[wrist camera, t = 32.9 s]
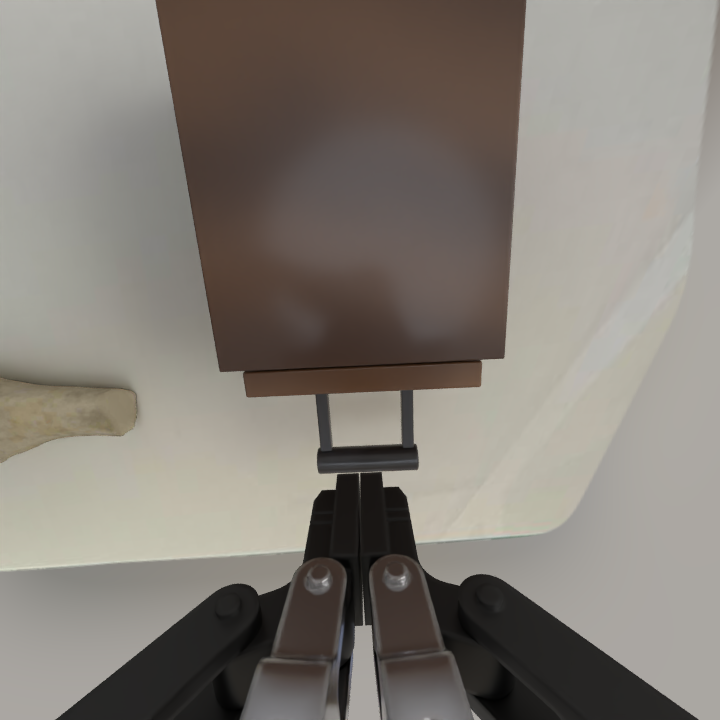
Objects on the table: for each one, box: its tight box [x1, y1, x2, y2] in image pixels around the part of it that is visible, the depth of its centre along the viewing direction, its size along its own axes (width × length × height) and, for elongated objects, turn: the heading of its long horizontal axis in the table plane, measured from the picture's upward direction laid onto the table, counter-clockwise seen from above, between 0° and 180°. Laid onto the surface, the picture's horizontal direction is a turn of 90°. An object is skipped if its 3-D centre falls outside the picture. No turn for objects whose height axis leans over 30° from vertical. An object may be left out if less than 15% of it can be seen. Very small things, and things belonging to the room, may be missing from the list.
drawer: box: [243, 360, 482, 474], centre depth 19 cm, size 18×10×7 cm, turn 3°
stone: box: [0, 377, 137, 463], centre depth 23 cm, size 11×6×5 cm, turn 105°
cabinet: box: [156, 0, 526, 372], centre depth 18 cm, size 14×12×9 cm
